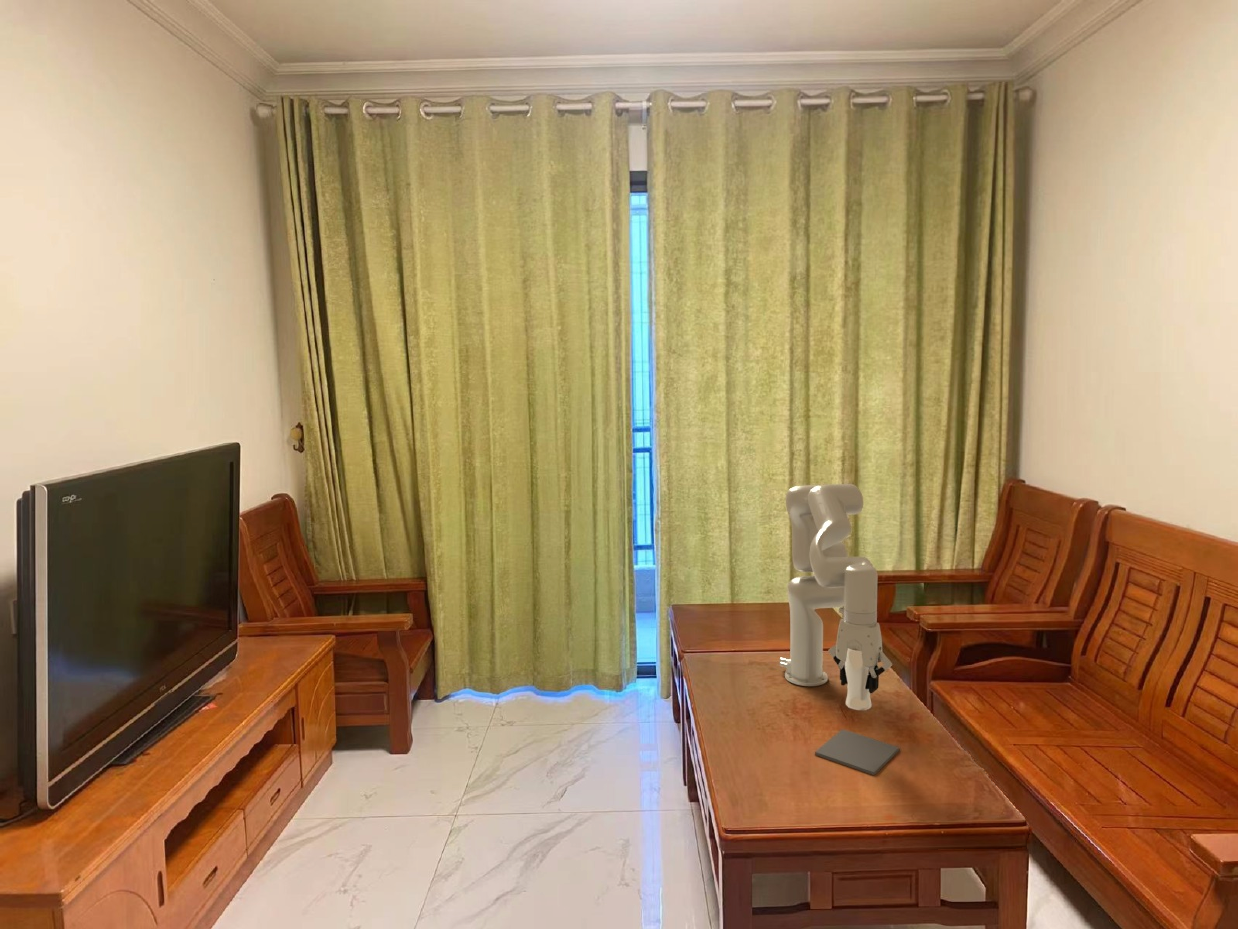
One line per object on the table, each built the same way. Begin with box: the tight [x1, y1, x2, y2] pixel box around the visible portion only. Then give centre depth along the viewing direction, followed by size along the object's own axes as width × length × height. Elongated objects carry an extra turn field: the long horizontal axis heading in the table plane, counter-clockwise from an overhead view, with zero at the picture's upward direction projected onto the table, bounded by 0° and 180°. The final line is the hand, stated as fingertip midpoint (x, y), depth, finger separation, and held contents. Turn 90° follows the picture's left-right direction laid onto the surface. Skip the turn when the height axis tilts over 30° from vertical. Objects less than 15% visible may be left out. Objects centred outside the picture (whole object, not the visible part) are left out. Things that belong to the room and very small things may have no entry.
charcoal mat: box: [814, 729, 900, 776], centre depth 191 cm, size 15×15×1 cm
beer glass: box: [844, 648, 872, 711], centre depth 188 cm, size 7×7×15 cm
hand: (858, 686), depth 189 cm, fingers closed on beer glass, 6 cm apart
